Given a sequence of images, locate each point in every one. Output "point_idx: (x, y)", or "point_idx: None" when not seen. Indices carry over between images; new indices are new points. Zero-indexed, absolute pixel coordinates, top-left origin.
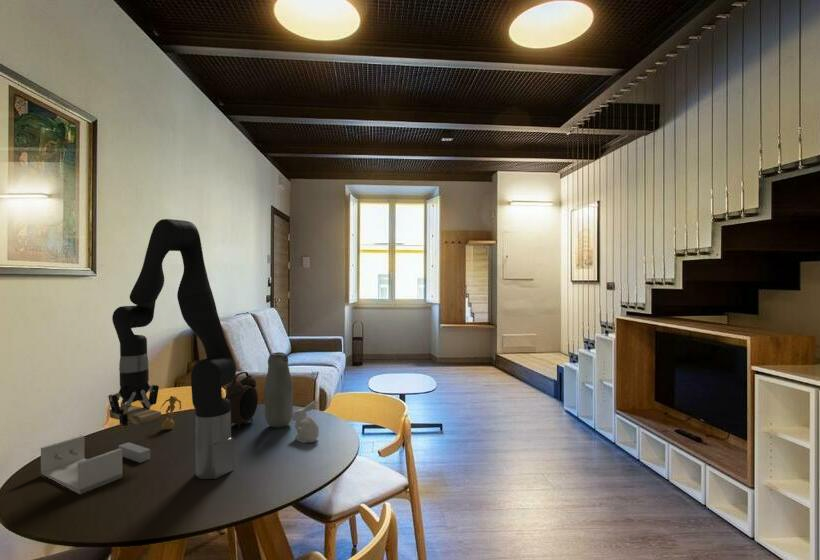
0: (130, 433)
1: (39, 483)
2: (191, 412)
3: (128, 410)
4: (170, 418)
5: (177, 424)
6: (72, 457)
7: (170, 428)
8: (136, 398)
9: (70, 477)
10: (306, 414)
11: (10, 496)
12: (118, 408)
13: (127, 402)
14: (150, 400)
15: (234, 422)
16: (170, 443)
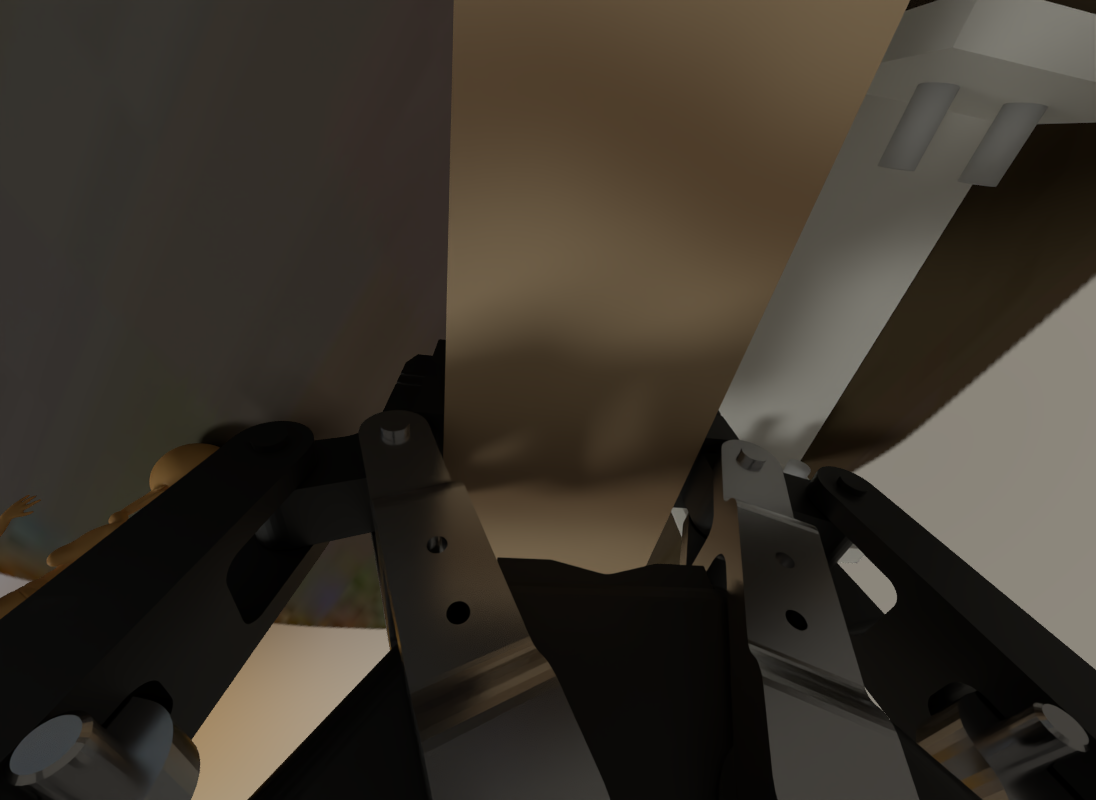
0: (367, 546)
1: (844, 410)
2: (9, 547)
3: (581, 535)
4: (157, 492)
5: (143, 471)
6: None
7: (203, 443)
8: (629, 623)
9: (855, 314)
10: None
11: (945, 396)
12: (892, 533)
13: (827, 580)
14: (295, 537)
15: None
16: (307, 255)
